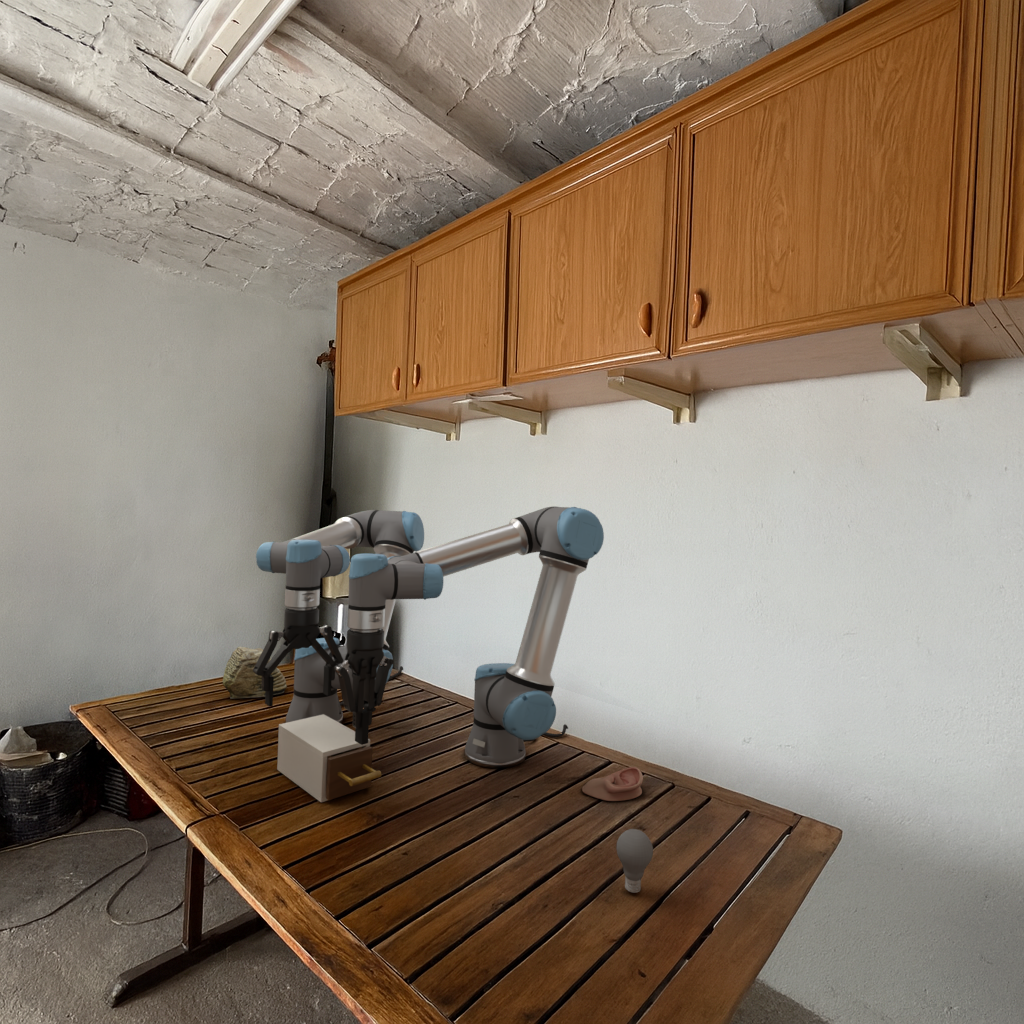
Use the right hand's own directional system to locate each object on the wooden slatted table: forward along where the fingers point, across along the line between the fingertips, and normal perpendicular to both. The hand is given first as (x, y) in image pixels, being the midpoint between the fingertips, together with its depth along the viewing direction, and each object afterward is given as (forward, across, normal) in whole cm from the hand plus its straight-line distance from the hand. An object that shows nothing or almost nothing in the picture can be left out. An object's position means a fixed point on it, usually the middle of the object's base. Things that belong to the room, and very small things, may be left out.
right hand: (361, 741), depth 131 cm
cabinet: (+13, 0, +16) cm, 20 cm away
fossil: (+13, +13, +82) cm, 84 cm away
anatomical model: (+13, +46, -31) cm, 57 cm away
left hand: (-3, -3, +23) cm, 23 cm away
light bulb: (+13, +18, -55) cm, 59 cm away
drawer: (+12, 0, +10) cm, 16 cm away
